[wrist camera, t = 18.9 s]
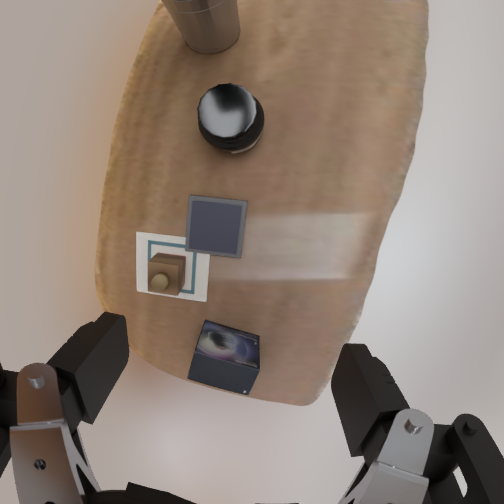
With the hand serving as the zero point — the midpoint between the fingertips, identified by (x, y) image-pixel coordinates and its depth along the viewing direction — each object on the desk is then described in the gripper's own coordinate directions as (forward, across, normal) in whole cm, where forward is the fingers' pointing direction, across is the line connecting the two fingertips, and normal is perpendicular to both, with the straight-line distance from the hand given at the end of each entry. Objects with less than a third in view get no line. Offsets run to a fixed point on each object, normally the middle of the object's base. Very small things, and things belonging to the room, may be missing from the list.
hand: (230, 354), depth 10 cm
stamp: (+36, +12, +11) cm, 39 cm away
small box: (+36, +1, +24) cm, 44 cm away
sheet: (+36, +12, +11) cm, 40 cm away
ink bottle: (+36, +4, -13) cm, 39 cm away
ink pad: (+36, +5, +3) cm, 37 cm away
